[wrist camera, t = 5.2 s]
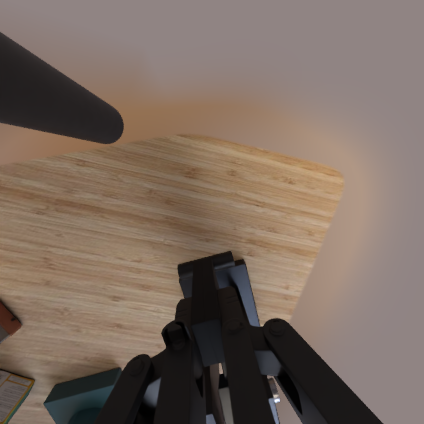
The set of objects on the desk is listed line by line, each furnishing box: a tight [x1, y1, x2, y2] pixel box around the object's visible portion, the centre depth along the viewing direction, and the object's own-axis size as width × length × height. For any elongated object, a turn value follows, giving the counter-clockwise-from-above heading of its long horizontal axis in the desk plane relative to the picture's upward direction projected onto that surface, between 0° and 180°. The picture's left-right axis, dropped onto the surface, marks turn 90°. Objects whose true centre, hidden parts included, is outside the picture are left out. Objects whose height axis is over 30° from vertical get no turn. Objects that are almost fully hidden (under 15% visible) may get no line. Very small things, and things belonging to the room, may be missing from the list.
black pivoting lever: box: [178, 251, 235, 424], centre depth 16 cm, size 12×5×2 cm
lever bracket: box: [179, 259, 280, 424], centre depth 19 cm, size 10×8×13 cm
